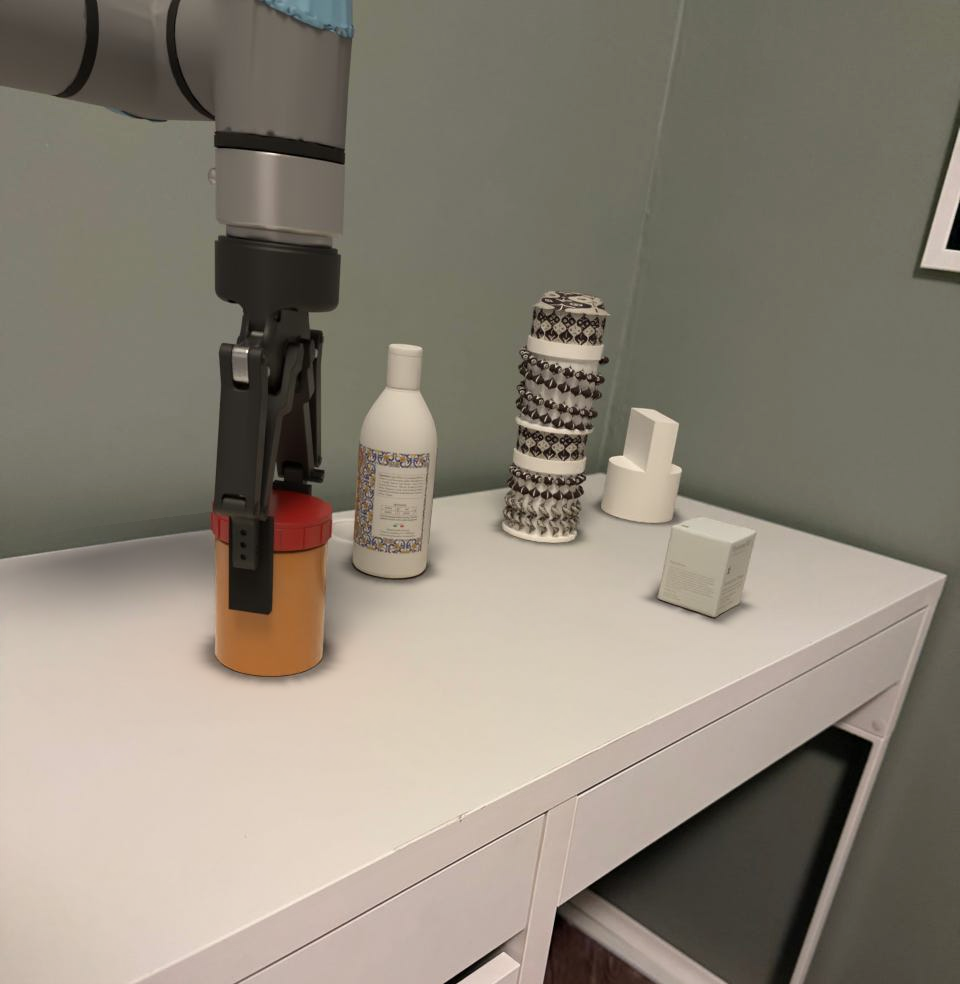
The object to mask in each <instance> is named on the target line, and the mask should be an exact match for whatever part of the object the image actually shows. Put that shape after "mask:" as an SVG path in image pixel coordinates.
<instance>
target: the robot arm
mask: <svg viewBox="0 0 960 984" xmlns="http://www.w3.org/2000/svg"><path fill="white" fill-rule="evenodd" d="M353 5H354V4H353V0H0V87H6V88H9V89H16V90H21V91H27V92H32V93H37V94H42V95H47V96H52V97H55V98H59V99H65V100H69V101H74V102H79V103H84V104H88V105H93V106H98V107H103V108H105V110H108V111H110V112H112V113H115V114H117V115H120V116H123V117H124V116H125V117H128V118H131V119H137V120H146V121H148V122H150V123H166V122H168V121H186V122H187V121H188V122H214V127H215V128H214V129H215V131H214V135H213V147H214V148H215V149H214V159H215V160H214V165H215V166H214V167H212V168H209V170H208V172H207V180H208V182H209V183H210V185H211V186H214V187H215V188H214V189H215V190H214V193H215V195H214V198H215V200H214V201H215V202H214V203H215V208H214V209H215V220H216V221H217V223H218V224H219V225H224V226H225V235H224V234H223V235H222V234H219V235H218V236H217V239H216V240H214V293H215V295H216V296H217V298H219V300H221V301H223V302H226V303H229V304H233V305H239V306H240V307H241V308H242V313H243V314H242V316H241V325H240V331H239V335H238V336H237V339H236V343H230V342H221V344H220V346H219V350H218V363H219V376H220V393H219V395H220V396H219V412H218V413H219V414H218V429H217V444H216V446H217V447H216V461H215V464H216V465H215V476H214V477H215V478H214V481H215V482H214V493H213V494H214V495H213V497H214V498H213V499H214V503H213V512H214V514H218V515H225V516H229V609H230V610H237V611H244V612H251V613H258V614H264V615H269V614H270V613H271V612H272V596H273V552H274V517H273V516H268V515H269V506H270V499H271V492H272V490H285V491H292V492H298V493H303V494H307V495H311V496H313V494H312V493H313V492H312V491H313V489H312V488H313V485H312V484H310V483H316V484H323V483H324V479H325V474H326V473H325V469H319V468H320V467H321V466H322V462H323V457H322V357H323V347H324V346H323V345H324V341H325V336H324V331H323V330H321V329H313V328H311V326H310V325H311V324H310V314H309V313H315V314H316V313H317V314H318V313H329V312H330V313H331V312H333V311H334V310H336V308H338V307H339V304H340V303H339V302H340V285H341V284H340V283H341V267H342V266H341V265H342V263H341V262H342V254H340V253H339V249H337V248H336V247H333V241H334V240H333V239H334V238H336V239H338V238H340V237H341V236H342V235H343V234H344V213H345V188H346V187H345V185H346V184H345V182H346V152H345V151H346V138H347V122H348V121H347V119H348V104H349V85H350V74H351V73H350V72H351V61H352V50H353V49H352V47H353V38H355V26H354V12H353V10H354V8H353ZM275 470H276V473H277V477H278V478H279V479H274V478H275ZM280 479H283V480H280ZM308 482H309V483H308ZM240 495H242V496H244V497H242V496H240Z"/></svg>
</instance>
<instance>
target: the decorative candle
mask: <svg viewBox="0 0 960 984" xmlns="http://www.w3.org/2000/svg"><path fill="white" fill-rule="evenodd" d="M531 306H533V309H532V317H531V324H530V325H531V326H530V333H529V335H527V342H526V344H525V345H524V346H523V347H522V348H520V349H519V352H518V353H519V355H520V357H521V359H522V360H523V361H522V362H521V363H519V364H518V366H517V369H518V373H519V374H520V375H521V376H523V378H524V379H522V380H520V382H519V383H518V384H517V385H516V390H517V392H518V394H519V397H518V398H516V399H515V408H516V409H517V410H519V411H520V413H519V414H518V415H517V416H515V417H514V422H515V423H516V424H517V425H518V429H517V435H516V443H515V447H514V448H513V452H512V453H513V454H512V463H510V464H509V465H508V470H509V473H510V474H511V475H512V476H510V477H509V478H507V480H506V483H507V487H508V488H509V489H510V490H509V491H508V492H507V493H506V494H505V496H504V502H505V505H506V506H505V507H504V508H503V510H502V515H503V517H504V520H503V521H502V523H501V527H502V529H503V531H504V532H506V533H508V534H509V535H510V536H514V537H517V538H520V539H522V540H527V541H532V542H538V543H548V544H549V543H551V544H552V543H553V544H557V543H567V542H570V541H573V540H575V539H576V538H577V536H578V531H577V530H576V529H577V527H578V525H580V519H579V514H580V513H581V511H582V509H583V508H582V503H581V501H580V500H579V499H578V498H581V497H582V496H583V495H584V494H585V490H584V488H583V486H582V484H583V483H584V482H585V481H587V475H586V473H585V472H584V471H585V470H586V464H587V456H586V450H587V446H588V437H589V435H590V434H592V433H593V432H594V430H595V426H594V425H592V423H591V422H590V421H592V420H594V419H596V418H597V417H598V416H599V414H598V413H599V412H598V411H596V410H595V408H593V402H595V401H597V400H599V399H602V397H603V393H602V392H601V391H600V390H599V389H598V388H596V387H597V386H600V385H603V384H604V383H605V382H606V379H605V377H604V375H602V374H601V373H600V372H598V368H599V367H603V366H605V365H607V364H608V363H610V359H609V357H608V356H604V349H605V344H604V336H605V332H606V322H607V318H608V316H611V313H608V312H607V310H606V308H605V305H604V302H603V300H602V299H601V298H600V297H599V296H596V295H592V294H586V293H579V292H570V291H563V290H561V291H560V290H548V291H546V292H544V293H543V294H542V296H541V297H540V299H539V300H538V301H537V302H536V303H534V304H531Z"/></svg>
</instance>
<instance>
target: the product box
mask: <svg viewBox="0 0 960 984" xmlns="http://www.w3.org/2000/svg"><path fill="white" fill-rule="evenodd" d="M756 537H757V530H754V529H750V528H749V527H744V526H741V525H736V524H732V523H728V522H724V521H720V520H716V519H712V518H709V517H705V516H697V517H693V518H690V519H685V520H684V521H682V522H679V523H676V524H674V525H672V526H671V529H670V535H669V539H668V544H667V550H666V553H665V559H664V564H663V567H662V572H661V576H660V577H661V578H660V583H659V586H658V592H657V599H658V600H661V601H663V602H666V603H669V604H671V605H675V606H678V607H681V608H684V609H687V610H690V611H694V612H696V613H700V614H702V615H705V616H707V617H712V618H717V617H718V616H719V615H722V614H723V613H724V612H726V611H728V610H730V609H732V608H734V607H736V606H739V604H740V603H741V600H742V596H743V591H744V587H745V583H746V579H747V574H748V569H749V565H750V561H751V557H752V553H753V548H754V546H755V545H754V544H755V540H756Z"/></svg>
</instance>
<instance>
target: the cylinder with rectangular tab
mask: <svg viewBox="0 0 960 984" xmlns="http://www.w3.org/2000/svg"><path fill="white" fill-rule="evenodd" d="M679 428H680V423H679V422H677V421H675V419H674V420H673V419H672V418H670V417H668V416H667V415H665V414H664V413H663V414H662V413H661V412H660V411H657V410H656V409H654V408H653V409H652V408H643V407H631V408H630V413H629V419H628V424H627V430H626V436H625V440H624V441H625V442H624V447H623V453H622V455H615V456H611V457H609V459H608V463H607V468H606V473H605V481H604V486H603V492H602V498H601V505H600V508H601V510H602V511H603V512H604V513H606V514H608V515H611V516H612V517H616V518H619V519H622V520H627V521H631V522H637V523H646V524H647V523H648V524H661V523H667V522H670V521H672V520H673V517H674V512H675V507H676V503H677V498H678V493H679V486H680V483H681V478H682V473H683V468H682V467H680V466H678V465H676V464H674V463H673V459H674V458H673V457H674V453H675V448H676V443H677V438H678V432H679Z"/></svg>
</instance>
